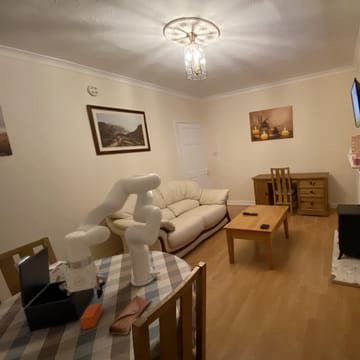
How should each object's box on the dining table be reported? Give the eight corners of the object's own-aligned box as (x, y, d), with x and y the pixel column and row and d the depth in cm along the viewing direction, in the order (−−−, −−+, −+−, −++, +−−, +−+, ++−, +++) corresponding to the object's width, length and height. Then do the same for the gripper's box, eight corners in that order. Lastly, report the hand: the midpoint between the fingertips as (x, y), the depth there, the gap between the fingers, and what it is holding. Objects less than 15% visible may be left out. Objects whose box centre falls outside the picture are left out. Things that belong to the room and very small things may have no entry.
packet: (102, 312, 95) (100, 302, 94) (94, 326, 87) (92, 316, 86) (91, 314, 94) (89, 304, 93) (82, 329, 86) (80, 319, 85)
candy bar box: (65, 287, 113) (59, 260, 110) (72, 288, 112) (66, 260, 109) (42, 303, 103) (34, 273, 100) (50, 304, 101) (43, 273, 99)
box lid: (47, 246, 98) (32, 247, 96) (20, 265, 82) (2, 266, 80) (50, 282, 100) (35, 283, 99) (24, 307, 84) (6, 309, 83)
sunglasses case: (128, 334, 82) (118, 321, 81) (116, 341, 83) (105, 328, 83) (152, 300, 99) (144, 289, 99) (141, 306, 101) (133, 295, 100)
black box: (94, 294, 106) (90, 275, 104) (78, 320, 90) (73, 298, 89) (54, 302, 102) (49, 283, 100) (29, 331, 86) (23, 308, 84)
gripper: (49, 270, 80) (58, 310, 82) (100, 262, 84) (106, 300, 86) (61, 260, 87) (68, 297, 90) (107, 253, 91) (113, 289, 94)
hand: (87, 299), depth 88 cm, fingers open, 9 cm apart
